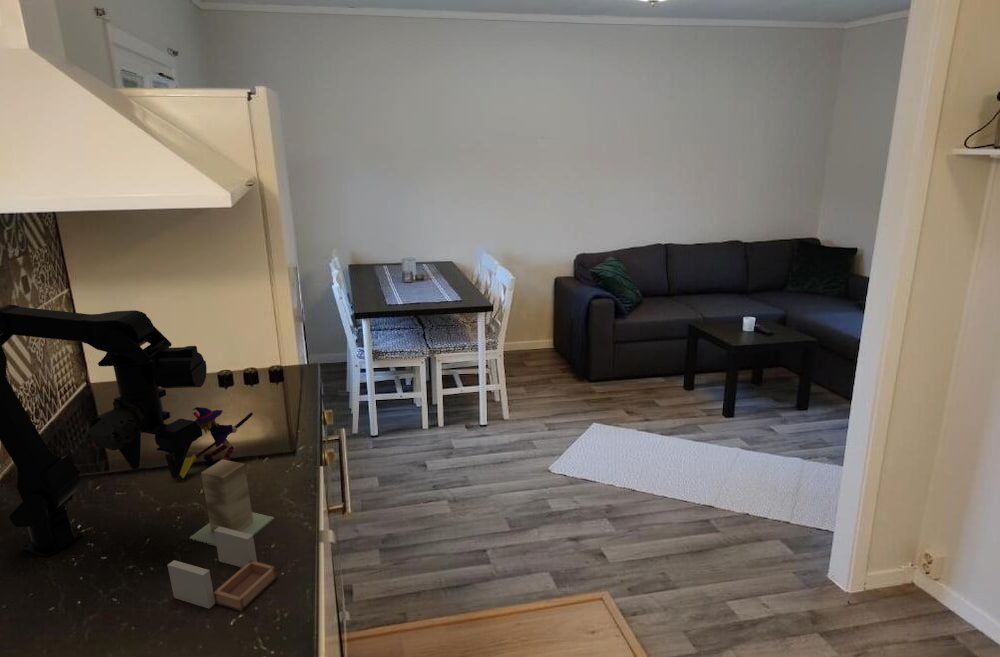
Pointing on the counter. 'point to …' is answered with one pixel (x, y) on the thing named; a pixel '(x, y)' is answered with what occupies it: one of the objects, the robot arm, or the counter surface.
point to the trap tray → (245, 585)
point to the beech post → (227, 496)
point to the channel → (197, 581)
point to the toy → (217, 433)
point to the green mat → (255, 527)
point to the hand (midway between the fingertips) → (155, 472)
